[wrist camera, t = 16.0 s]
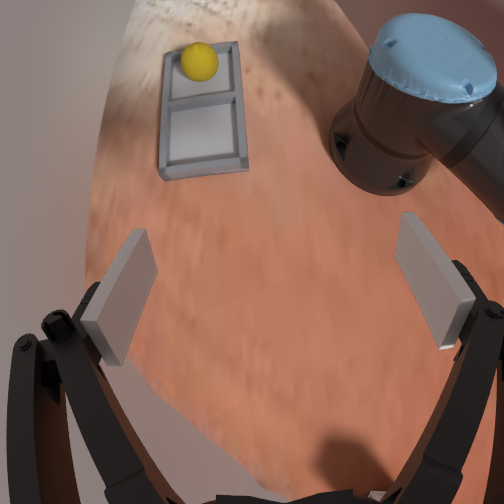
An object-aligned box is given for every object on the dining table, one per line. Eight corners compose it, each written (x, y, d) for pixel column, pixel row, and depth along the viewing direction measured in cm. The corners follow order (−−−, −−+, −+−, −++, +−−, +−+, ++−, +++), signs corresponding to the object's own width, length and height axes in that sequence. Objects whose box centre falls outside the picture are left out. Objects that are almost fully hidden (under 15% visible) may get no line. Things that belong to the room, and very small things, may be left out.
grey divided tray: (170, 61, 47) (166, 52, 45) (239, 50, 47) (237, 41, 44) (164, 181, 44) (158, 174, 42) (249, 170, 43) (247, 163, 41)
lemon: (186, 69, 46) (174, 38, 38) (220, 62, 46) (211, 29, 38) (189, 94, 45) (175, 63, 37) (224, 87, 45) (215, 54, 37)
